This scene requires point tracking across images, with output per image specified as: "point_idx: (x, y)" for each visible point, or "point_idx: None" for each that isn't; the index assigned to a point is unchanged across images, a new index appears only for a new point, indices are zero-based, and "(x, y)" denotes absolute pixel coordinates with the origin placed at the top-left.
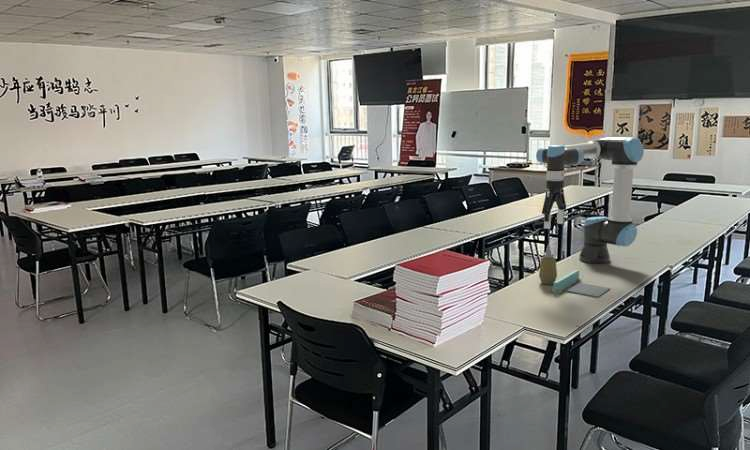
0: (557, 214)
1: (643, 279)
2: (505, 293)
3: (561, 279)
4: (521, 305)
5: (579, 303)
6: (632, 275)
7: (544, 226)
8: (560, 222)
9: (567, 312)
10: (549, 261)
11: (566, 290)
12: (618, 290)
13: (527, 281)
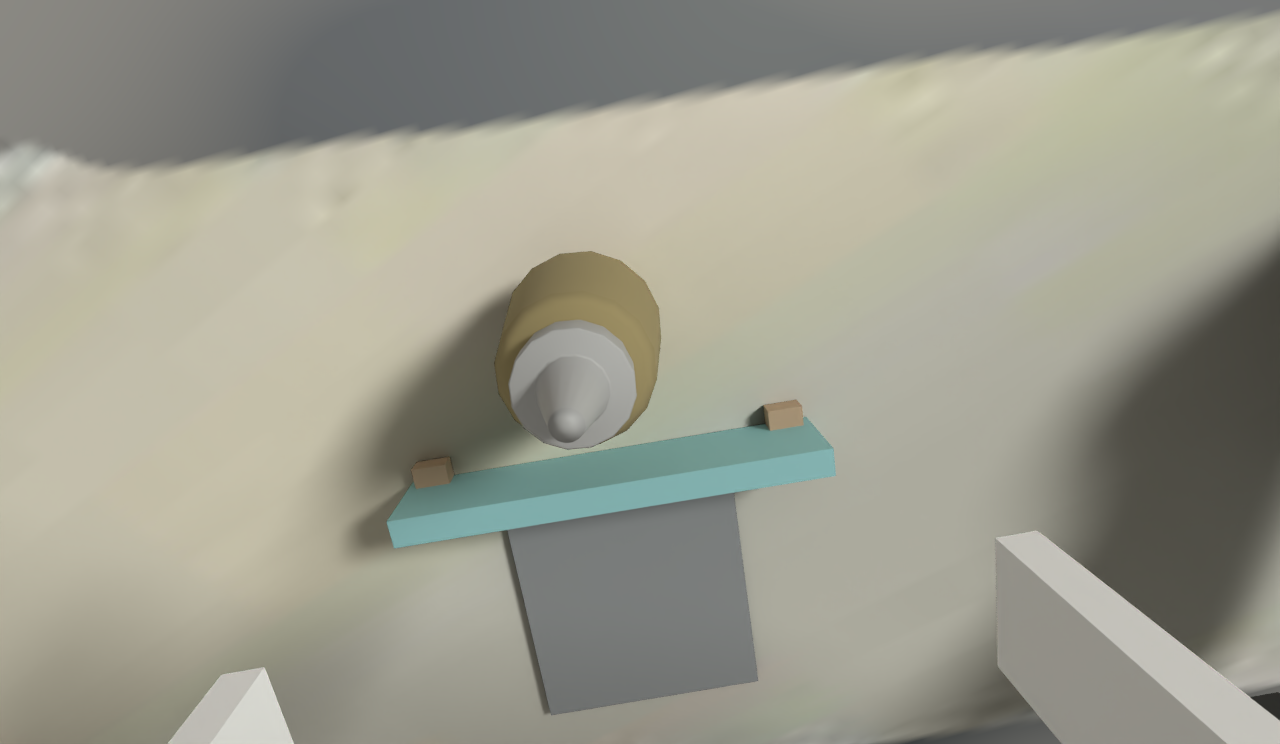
0: (1211, 736)
1: None
2: (109, 235)
3: (499, 521)
4: (25, 486)
5: (375, 693)
6: None
7: (194, 723)
8: (1018, 638)
9: None
10: (520, 422)
11: (507, 530)
12: (770, 713)
13: (504, 163)
